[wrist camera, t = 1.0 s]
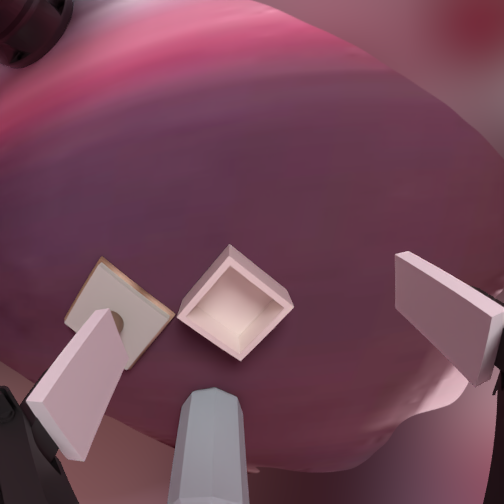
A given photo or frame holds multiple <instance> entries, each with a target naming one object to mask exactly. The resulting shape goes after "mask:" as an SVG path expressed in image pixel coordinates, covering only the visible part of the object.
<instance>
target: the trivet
mask: <svg viewBox="0 0 504 504" xmlns="http://www.w3.org/2000/svg"><path fill="white" fill-rule="evenodd" d="M101 262H102V263H103V264H105V265H106V266H107V267H108V268H109V269H111V270H112V271H113V272H114V273H116V274H117V275H118V276H119V277H120V278H122V279H123V280H124V281H125V282H127V283H128V284H129V285H130V286H132V287H133V288H134V289H136V290H137V291H138V292H139V293H141V294H142V295H143V296H145V297H146V298H147V299H148V300H150V301H151V302H152V303H154V304H155V305H156V306H158V307H159V308H160V309H162V310H163V311H164V312H166V313H167V314H169V315H170V317H169V319H168V321H167V322H166V323H165V324H164V326H163V327H162V328H161V329H160V330H159V332H158V333H157V334H156V335H155V336H154V338H153V339H152V340H151V341H150V343H149V344H148V345H147V346H146V347H145V349H144V350H143V351H142V352H141V354H140V355H139V356H138V357H137V358H136V360H135V361H134V362H133V363H132V365H131V366H130V367H129V368H128V369H131V368H132V366H133V365H134V364H135V363H136V362H137V360H138V359H139V358H140V357H141V356H142V354H143V353H144V352H145V351H146V349H147V348H148V347H149V346H150V345H151V343H152V342H153V341H154V340H155V339H156V337H157V336H158V335H159V334H160V333H161V331H162V330H163V329H164V328H165V327H166V325H167V324H168V323H169V322H170V321H171V319H172V318H173V317H174V316H175V313H174V312H172V311H171V310H170V309H168V308H167V307H166V306H164V305H163V304H162V303H160V302H159V301H158V300H156V299H155V298H154V297H152V296H151V295H150V294H149V293H147V292H146V291H145V290H143V289H142V288H141V287H140V286H138V285H137V284H136V283H134V282H133V281H132V280H131V279H129V278H128V277H127V276H126V275H124V274H123V273H122V272H121V271H119V270H118V269H117V268H116V267H115V266H113V265H112V264H111V263H110V262H109V261H107V260H106V259H105V258H104V257H103V256H102V257H101V258H100V259H99V261H98V262H97V264H96V265H95V267H94V269H93V270H92V272H91V274H90V275H89V277H88V279H87V280H86V282H85V283H84V285H83V287H82V289H81V290H80V292H79V294H78V295H77V297H76V299H75V301H74V302H73V304H72V306H71V308H70V309H69V311H68V313H67V315H66V317H65V319H64V320H65V321H66V319H67V317H68V315H69V313H70V312H71V310H72V308H73V306H74V305H75V303H76V301H77V299H78V298H79V296H80V294H81V293H82V291H83V289H84V288H85V286H86V284H87V283H88V281H89V279H90V278H91V276H92V274H93V273H94V271H95V270H96V268H97V266H98V265H99V264H100V263H101Z"/></svg>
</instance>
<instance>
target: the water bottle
mask: <svg viewBox="0 0 504 504" xmlns="http://www.w3.org/2000/svg"><path fill="white" fill-rule="evenodd" d="M167 504H249V494H248V482H247V467H246V453H245V438H244V423H243V412H242V410H241V407H240V404H239V401H238V398H237V397H235V396H234V395H232V394H230V393H227V392H225V391H223V390H220V389H218V388H216V387H214V388H208V389H202V390H196V391H194V392H192V393H191V394H190V396H189V397H188V399H187V400H186V401H185V403H184V404H183V405H182V409H181V414H180V421H179V427H178V433H177V439H176V446H175V452H174V459H173V465H172V473H171V480H170V486H169V494H168V502H167Z"/></svg>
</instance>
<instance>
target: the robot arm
mask: <svg viewBox="0 0 504 504" xmlns="http://www.w3.org/2000/svg"><path fill="white" fill-rule="evenodd" d="M72 11H73V0H0V63H1V64H2V65H5V66H8V67H11V68H22V67H25V66H28V65H30V64H32V63H34V62H35V61H37V60H38V59H40V58H41V57H42V56H43V55H45V54H46V53H47V52H48V51H49V50H50V49H51V48H52V47H53V46H54V45H55V43H56V42H57V41H58V40H59V38H60V37H61V35H62V34H63V32H64V31H65V29H66V27H67V25H68V23H69V21H70V18H71V15H72ZM395 308H396V309H397V310H398V311H399V312H400V313H401V314H402V315H403V316H404V317H405V318H406V319H407V320H408V321H409V322H410V323H412V324H413V325H414V326H415V327H416V328H417V329H418V330H419V331H420V332H421V333H422V334H423V335H424V336H425V337H426V338H427V339H428V340H429V341H430V342H431V343H432V344H433V345H434V346H435V347H436V348H437V349H438V350H439V351H440V352H441V353H442V354H443V355H444V356H445V357H446V358H447V359H448V360H449V361H450V362H451V363H452V364H453V365H454V366H455V367H456V368H457V369H458V370H459V371H460V372H461V373H462V374H463V375H464V376H465V377H466V379H467V380H468V381H469V382H470V383H472V385H473V386H474V387H477V386H478V385H480V384H482V383H484V382H486V381H488V380H489V379H490V378H491V375H492V371H493V368H494V365H495V366H496V367H497V368H499V369H500V373H499V376H498V379H497V382H496V385H495V388H494V391H493V394H492V395H495V393H496V391H497V390H498V395H497V416H496V428H495V439H494V447H493V455H492V461H491V467H490V473H489V479H488V484H487V488H486V493H485V498H484V502H483V504H504V303H502V302H501V301H499V300H497V299H495V298H494V297H493V296H491V295H488V293H486V292H484V291H483V290H481V289H479V288H476V287H473V286H469V285H467V284H465V283H464V282H462V281H460V280H459V279H457V278H455V277H453V276H452V275H450V274H448V273H447V272H445V271H443V270H441V269H440V268H438V267H436V266H434V265H433V264H431V263H429V262H427V261H425V260H424V259H422V258H420V257H418V256H416V255H415V254H413V253H411V252H409V251H407V252H402V253H398V254H395ZM128 359H129V357H128V355H127V352H126V350H125V348H124V345H123V343H122V340H121V338H120V335H119V332H118V330H117V327H116V325H115V322H114V319H113V316H112V314H111V311H110V308H107V309H100V310H95V312H94V313H93V314H92V315H91V316H90V318H89V319H88V320H87V321H86V322H85V324H84V325H83V326H82V327H81V328H80V330H79V331H78V332H77V333H76V335H75V336H74V337H73V338H72V340H71V341H70V342H69V343H68V345H67V346H66V347H65V349H64V350H63V351H62V352H61V354H60V355H59V356H58V358H57V359H56V360H55V361H54V363H53V364H52V365H51V367H49V368H48V369H47V370H46V371H44V373H43V374H42V375H41V377H40V378H39V379H38V380H39V381H37V382H36V383H35V385H34V387H33V388H32V389H31V390H30V392H29V393H28V394H27V396H26V397H25V398H24V400H23V401H22V403H21V404H20V406H19V404H18V403H17V401H16V400H15V398H14V396H13V395H12V393H11V391H10V390H9V388H8V387H6V386H0V504H79V502H78V500H77V498H76V496H75V494H74V492H73V490H72V488H71V485H70V483H69V481H68V479H67V476H66V474H65V472H64V470H63V467H62V465H61V462H60V461H59V459H58V458H57V457H56V456H55V455H56V453H57V451H58V449H60V451H61V452H62V453H63V455H64V456H65V457H66V458H67V459H69V460H76V461H85V459H86V456H87V454H88V451H89V449H90V446H91V444H92V441H93V439H94V436H95V434H96V432H97V429H98V427H99V424H100V422H101V420H102V417H103V415H104V413H105V410H106V408H107V406H108V403H109V401H110V399H111V396H112V394H113V392H114V390H115V387H116V385H117V383H118V381H119V379H120V376H121V374H122V372H123V370H124V368H125V366H126V363H127V361H128Z"/></svg>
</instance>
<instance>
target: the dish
mask: <svg viewBox="0 0 504 504" xmlns="http://www.w3.org/2000/svg"><path fill="white" fill-rule="evenodd" d="M293 308H294V306H293V303H292V301H291V299H290V296H289V294H288V292H287V290H286V289H285V288H284V287H282V286H281V285H280V284H279V283H277V282H276V281H275V280H274V279H272V278H271V277H270V276H269V275H267V274H266V273H265V272H264V271H262V270H261V269H260V268H259V267H257V266H256V265H255V264H254V263H252V262H251V261H250V260H249V259H247V258H246V257H245V256H244V255H242V254H241V253H240V252H239V251H238V250H236V249H235V248H234V247H233V246H231V245H230V244H229V245H228V246H227V247H226V248H225V250H224V251H223V252H222V253H221V254H220V256H219V257H218V258H217V259H216V260H215V261H214V263H213V264H212V265H211V266H210V267H209V269H208V270H207V271H206V272H205V273H204V274H203V276H202V277H201V278H200V279H199V280H198V282H197V283H196V284H195V285H194V286H193V288H192V289H191V290H190V291H189V292H188V294H187V295H186V296H185V297H184V298H183V300H182V303H181V306H180V309H179V312H178V315H177V318H178V319H180V320H181V321H182V322H184V323H185V324H187V325H188V326H189V327H191V328H192V329H194V330H195V331H196V332H198V333H199V334H201V335H202V336H204V337H205V338H207V339H208V340H209V341H211V342H212V343H214V344H215V345H217V346H218V347H220V348H221V349H223V350H224V351H226V352H227V353H229V354H230V355H232V356H233V357H235V358H236V359H238V360H239V361H241V360H242V359H243V358H244V357H245V356H246V355H247V354H248V353H249V352H250V351H251V350H253V349H254V348H255V347H256V346H257V345H258V344H259V343H260V342H261V341H262V340H263V339H264V338H265V337H266V335H267V334H268V333H269V332H270V331H271V330H272V329H273V328H274V327H275V326H276V325H277V324H278V323H279V322H280V321H281V320H282V319H283V318H284V317H285V316H286V315H287V314H288V313H289V312H290V311H291V310H292V309H293Z"/></svg>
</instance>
